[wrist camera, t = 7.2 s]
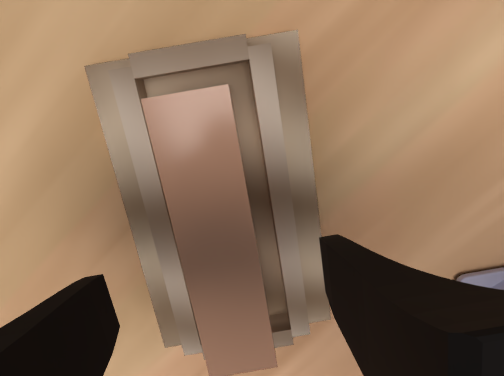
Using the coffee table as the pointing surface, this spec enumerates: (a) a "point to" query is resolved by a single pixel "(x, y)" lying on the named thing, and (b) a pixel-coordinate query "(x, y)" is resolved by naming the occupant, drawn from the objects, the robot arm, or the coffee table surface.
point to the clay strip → (213, 225)
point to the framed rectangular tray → (255, 164)
